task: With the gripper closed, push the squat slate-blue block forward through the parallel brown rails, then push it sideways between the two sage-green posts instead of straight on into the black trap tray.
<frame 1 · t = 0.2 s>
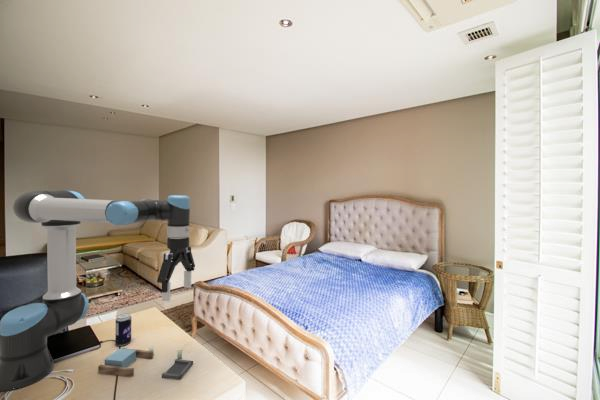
hand: (177, 293, 103), 28 cm above the table, fingers open, 13 cm apart
goal posts: (165, 356, 110), on the table
parallel brown rails: (126, 364, 104), on the table
beverage can: (123, 343, 118), on the table
trap tray: (178, 370, 102), on the table
block: (120, 365, 104), on the table
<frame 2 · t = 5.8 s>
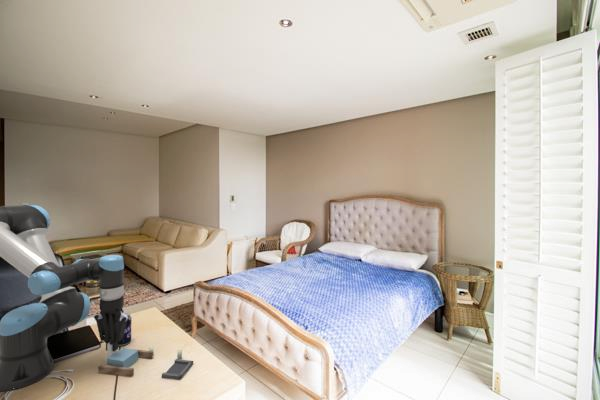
hand: (112, 358, 105), 2 cm above the table, fingers closed
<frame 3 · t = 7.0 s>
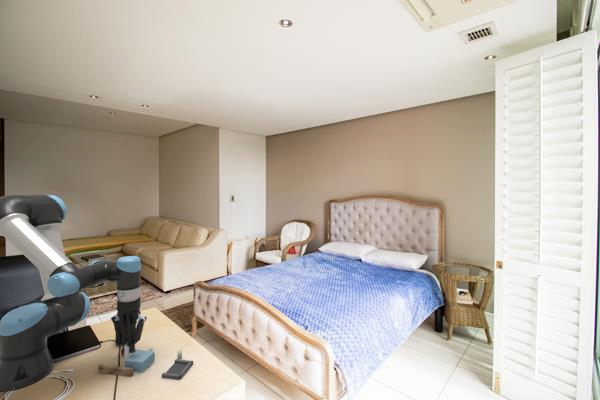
hand: (128, 360, 104), 2 cm above the table, fingers closed
block: (139, 366, 104), on the table, touching gripper
everything else where it was.
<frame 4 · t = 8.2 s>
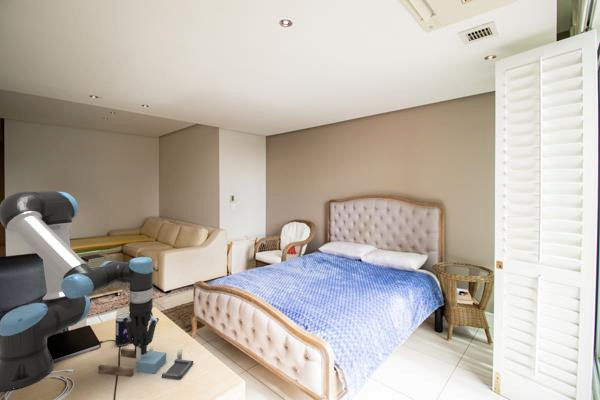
hand: (140, 362, 103), 2 cm above the table, fingers closed
block: (151, 367, 103), on the table
everything else where it was.
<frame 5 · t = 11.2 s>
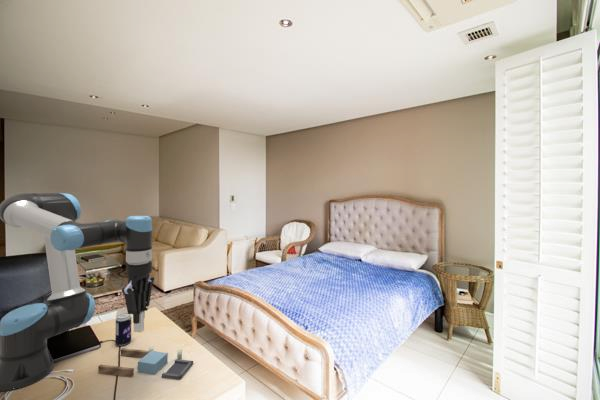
hand: (138, 330, 94), 18 cm above the table, fingers closed
nothing on the table moved.
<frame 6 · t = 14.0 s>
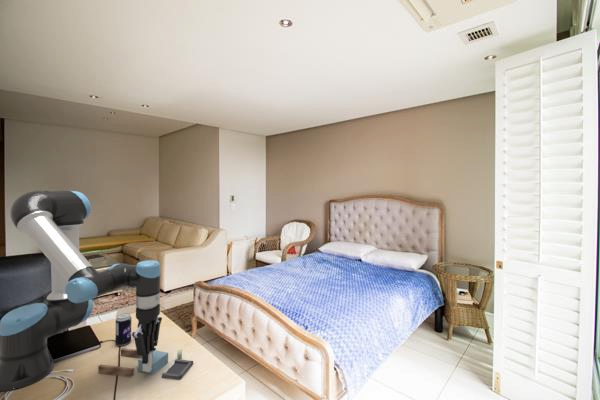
hand: (147, 370, 99), 2 cm above the table, fingers closed
block: (153, 366, 104), on the table, touching gripper
everything else where it was.
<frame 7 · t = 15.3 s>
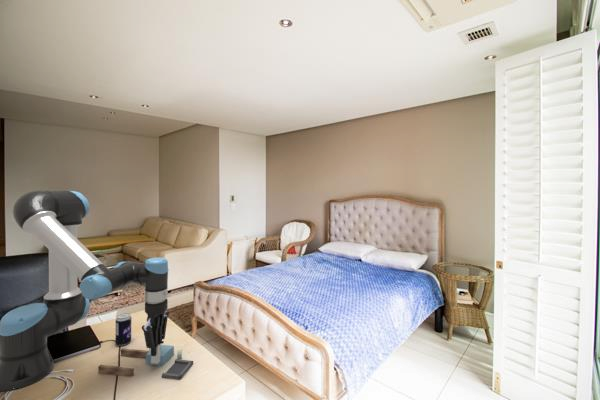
hand: (155, 362, 104), 2 cm above the table, fingers closed
block: (160, 360, 108), on the table
everything else where it was.
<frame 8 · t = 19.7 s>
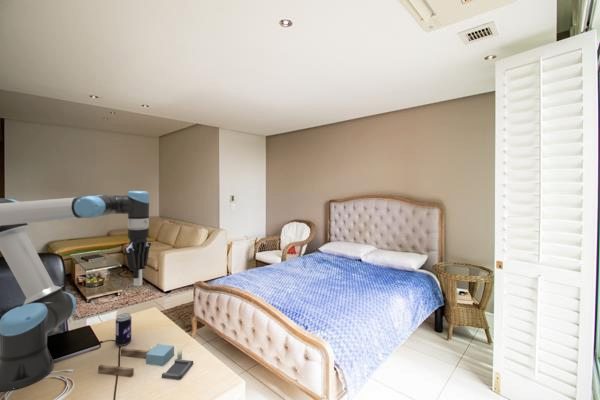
hand: (138, 285, 114), 26 cm above the table, fingers closed
nothing on the table moved.
at the end: block inside the target area (1.8 cm from its centre), on the table; block tilted 0°; block touching table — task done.
